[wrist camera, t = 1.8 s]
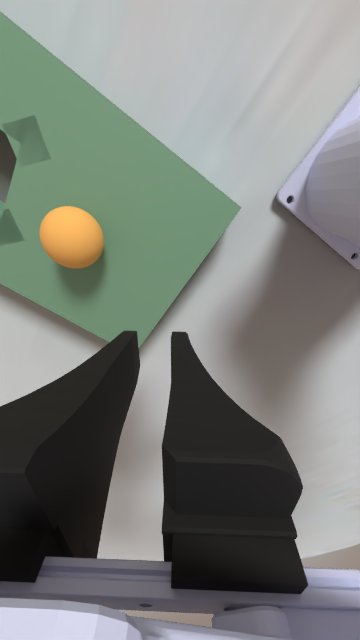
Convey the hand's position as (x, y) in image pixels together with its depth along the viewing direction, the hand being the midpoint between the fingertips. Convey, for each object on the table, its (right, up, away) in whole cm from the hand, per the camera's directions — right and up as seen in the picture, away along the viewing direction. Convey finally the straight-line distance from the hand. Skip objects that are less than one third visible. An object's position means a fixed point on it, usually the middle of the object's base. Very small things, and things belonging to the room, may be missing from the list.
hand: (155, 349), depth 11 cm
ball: (-5, +6, +3) cm, 9 cm away
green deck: (-7, +10, +7) cm, 14 cm away
